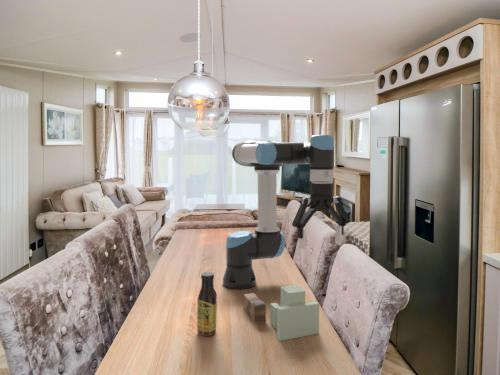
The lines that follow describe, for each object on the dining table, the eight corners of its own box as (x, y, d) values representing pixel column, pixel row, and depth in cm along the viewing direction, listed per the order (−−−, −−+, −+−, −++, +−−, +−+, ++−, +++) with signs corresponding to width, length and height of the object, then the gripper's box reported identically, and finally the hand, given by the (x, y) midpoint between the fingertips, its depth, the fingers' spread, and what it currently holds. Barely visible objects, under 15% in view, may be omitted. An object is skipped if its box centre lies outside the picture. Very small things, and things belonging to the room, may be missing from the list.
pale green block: (265, 324, 121) (265, 284, 120) (301, 317, 126) (301, 279, 125) (279, 340, 110) (279, 297, 109) (318, 333, 115) (319, 291, 114)
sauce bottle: (193, 333, 115) (192, 273, 114) (206, 326, 120) (206, 269, 119) (207, 339, 111) (206, 278, 110) (221, 331, 116) (220, 272, 115)
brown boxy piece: (243, 309, 134) (243, 292, 133) (253, 308, 135) (253, 291, 134) (254, 323, 122) (254, 305, 122) (265, 321, 124) (265, 303, 123)
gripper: (292, 184, 108) (292, 252, 110) (360, 182, 117) (359, 245, 118) (282, 182, 115) (281, 246, 117) (346, 180, 124) (345, 240, 125)
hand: (320, 246), depth 118 cm, fingers open, 13 cm apart
